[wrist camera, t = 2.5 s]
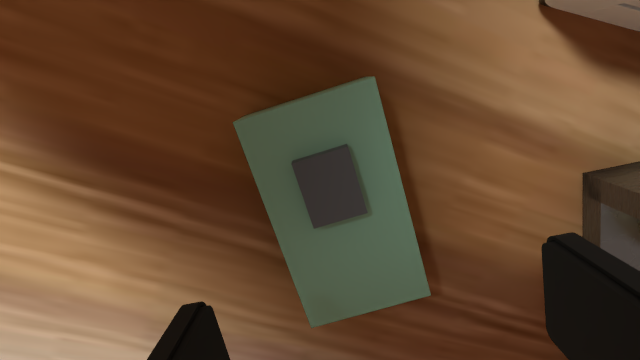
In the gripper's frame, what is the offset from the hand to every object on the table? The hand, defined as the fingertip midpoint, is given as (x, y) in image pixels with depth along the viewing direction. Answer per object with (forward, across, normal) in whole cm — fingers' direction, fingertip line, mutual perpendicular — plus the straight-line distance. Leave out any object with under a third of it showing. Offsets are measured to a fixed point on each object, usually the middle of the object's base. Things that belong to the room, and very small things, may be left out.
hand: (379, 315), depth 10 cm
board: (+9, +1, -1) cm, 9 cm away
